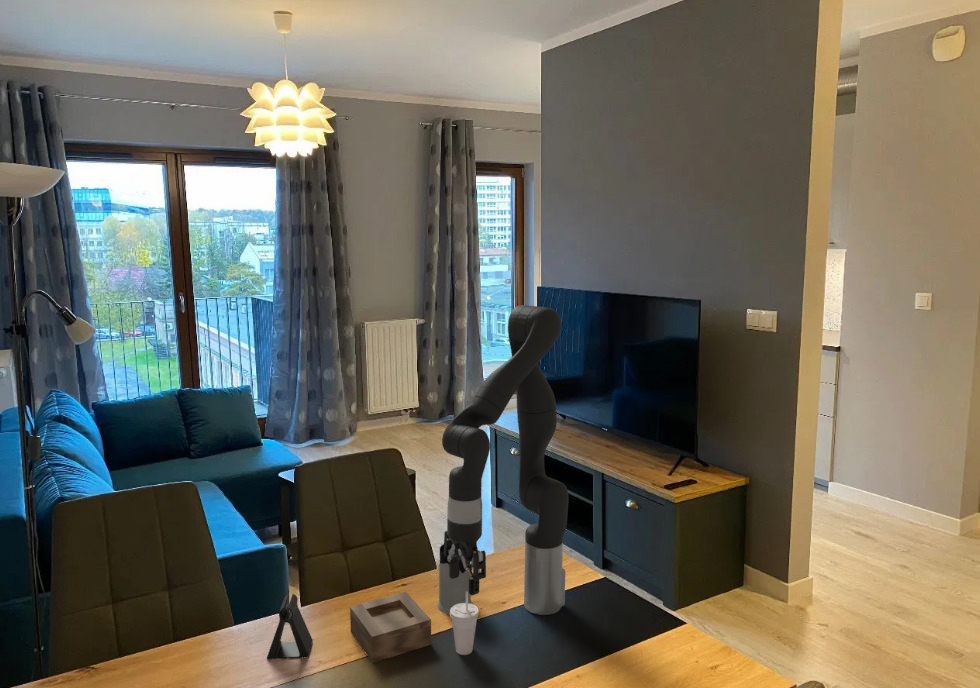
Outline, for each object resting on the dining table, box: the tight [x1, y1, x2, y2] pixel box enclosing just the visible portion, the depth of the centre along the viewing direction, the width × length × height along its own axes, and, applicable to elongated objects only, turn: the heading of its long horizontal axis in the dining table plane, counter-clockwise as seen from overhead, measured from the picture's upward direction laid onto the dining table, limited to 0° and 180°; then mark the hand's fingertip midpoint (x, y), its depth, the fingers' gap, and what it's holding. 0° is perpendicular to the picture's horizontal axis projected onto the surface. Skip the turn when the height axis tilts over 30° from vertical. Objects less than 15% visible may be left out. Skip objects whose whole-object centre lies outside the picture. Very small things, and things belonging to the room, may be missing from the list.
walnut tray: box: [349, 591, 432, 664], centre depth 167 cm, size 14×14×6 cm
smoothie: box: [449, 592, 480, 656], centre depth 162 cm, size 6×6×14 cm
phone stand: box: [266, 593, 314, 660], centre depth 161 cm, size 9×6×12 cm, turn 95°
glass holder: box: [436, 543, 473, 615], centre depth 183 cm, size 9×14×15 cm, turn 151°
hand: (463, 585), depth 160 cm, fingers open, 8 cm apart
